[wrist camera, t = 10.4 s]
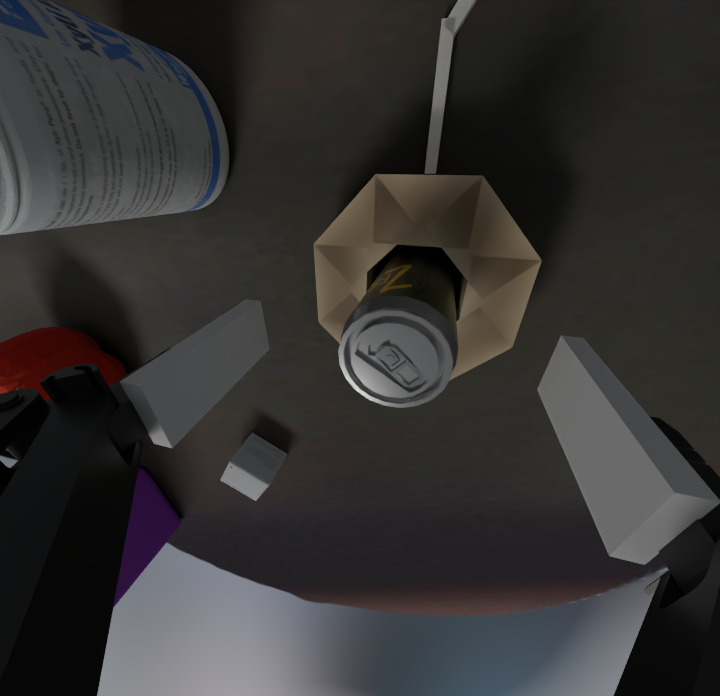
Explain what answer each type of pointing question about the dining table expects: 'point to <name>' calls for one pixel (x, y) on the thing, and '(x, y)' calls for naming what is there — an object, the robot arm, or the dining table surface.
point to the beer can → (403, 332)
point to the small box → (253, 466)
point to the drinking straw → (443, 78)
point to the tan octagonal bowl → (433, 229)
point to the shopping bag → (145, 530)
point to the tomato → (51, 358)
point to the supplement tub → (98, 124)
